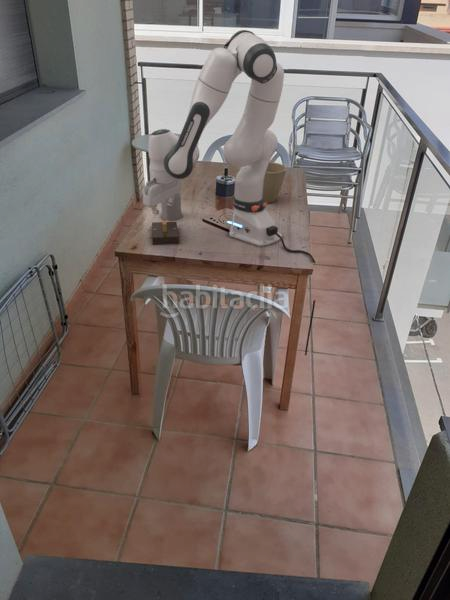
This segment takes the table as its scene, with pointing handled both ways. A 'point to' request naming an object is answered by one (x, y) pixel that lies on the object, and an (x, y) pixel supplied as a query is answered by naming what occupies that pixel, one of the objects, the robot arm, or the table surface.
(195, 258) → the table surface
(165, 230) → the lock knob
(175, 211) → the cup
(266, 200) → the plant pot
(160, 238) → the lock plate
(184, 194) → the table surface
